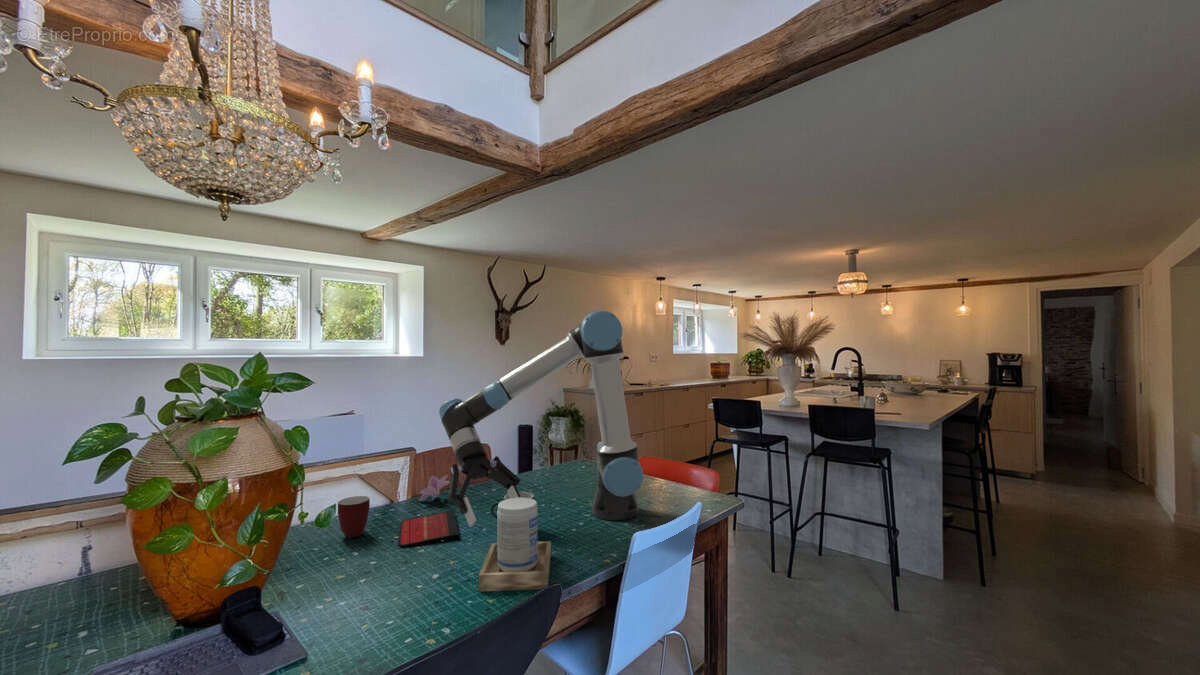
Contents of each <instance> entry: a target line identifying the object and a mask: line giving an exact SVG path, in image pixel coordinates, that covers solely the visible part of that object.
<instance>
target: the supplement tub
mask: <svg viewBox="0 0 1200 675" xmlns="http://www.w3.org/2000/svg"><path fill="white" fill-rule="evenodd" d="M498 503H499V504H498V505H497V512H496V513H497V514H496V516H497V518H496V519H497V522H496V523H497V525H496V526H497V530H496V531H497V539H496V540H497V542H496V543H498V567H499V568H500V569H501V570H502V571H504V572H526V571H529V570H531V569H532V568H534V567H535V566H536V564H537V562H538V542H539V541H538V540H539V536H538V535H539V534H538V532H539V531H538V530H539V529H538V528H539V527H538V525H539V522H538V521H539V519H538V518H539V516H538V515H539V514H538V513H539V511H538V510H539V509H538V503H537V500H535V499H531V498H511V499H506V500H504V499H503V500H502V501H499V502H498Z"/></svg>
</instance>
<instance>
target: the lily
mask: <svg viewBox="0 0 1200 675" xmlns="http://www.w3.org/2000/svg"><path fill="white" fill-rule="evenodd" d="M448 476H449V474H446V475H444V476H442V477H441V478H440V479H439V478H438V477H437V476H435V475H432V476H431V477H430V478H429V481H428V484H427V487H425V488H423V489H422V490H421V491H420V492H419V494H422V495H421V496H420V498H419V500H418V502H419V501H421V502H423V500H425V499H426V498H428V497H429V496H432V497H433V498H435V497H436V498H437V497H438V496H439V498H440V501H441V503H442V504H444V501H443V499H442V496H441V494H440V491H441V489H442V488H443V487H445V486H447V485H448V484H449V485H450V483H451V481H449V480H446V479H447V478H448Z"/></svg>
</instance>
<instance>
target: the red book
mask: <svg viewBox="0 0 1200 675" xmlns="http://www.w3.org/2000/svg"><path fill="white" fill-rule="evenodd" d="M451 537H453V538H455V537H457V538H456V539H457V540H458V541H460V533H459V527H458V523H457V518H456V513H455V510H454V509H452V510H448V511H447V510H446V511H443V512H439V513H434V514H429V515H423V516H418V517H417V516H416V517H414V518H407V519H403V520H401V522H400V524H399V532H398V537H397V539H398V540H397V541H398V542H397V547H398V546H399V547H401V549H402V548H412V547H418V546H426V544H427V545H434V544H441V543H440V542H442V541H441V540H445V539H447V540H449V539H448V538H450V539H452V538H451ZM445 541H446V540H445ZM442 543H443V542H442ZM399 547H398V548H399Z"/></svg>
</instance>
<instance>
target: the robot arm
mask: <svg viewBox="0 0 1200 675" xmlns="http://www.w3.org/2000/svg"><path fill="white" fill-rule="evenodd" d="M622 336H623V325H622V323H621V321H620V319H619V317H617V315H616V314H614V313H613V312H610V311H607V310H603V309H602V310H595V311H591V312H589V313H588V314H587V315H586V316H584V318H583V320H582V321H581V323H579V324H578V325H577V326H576V327H574V328H573V329H571V330H570V331H569V332H567V336H566V337H564V338H563V339H561V340H560V341H558V342H557V343H555V344H554V345H552V346H550V347H549V348H547V349H545V350H544V351H542V352H541V353H539V354H538V355H536V356H534V357H533V358H531V359H530V360H529V361H526V362H525V363H523V364H522V365H520V366H519V367H517V368H515V369H514V370H512V371H511V372H509V373H507V374H506V375H504V376H502V377H501V378H500V379H497V380H496V381H495V382H492V383H490V384H488V385H486V386H485V387H484V388H482V389H480V390H479V391H477V392H476V393H474V394H473V395H471V396H469V397H468V398H466V399H465V400H462V399H461V398H452V399H451V400H446V401H445V402H443V403H442V404H441V405H440V407H439V409H438V414H439V417H440V419H441V424H442V425H443V428H444V429H445V430H444V431H445V433H446V436H447V437H448V440H449V442H450V445H451V447H452V450H453V452H454V454H455V457H456V459H457V463H458V464H459V465H458V464H457V463H454V464H453V465H452V466H451V468H450V470H449V473H450V477H451V478H450V483H449V490H448V497H447V502H448V503H449V504H452V503H454V505H456V506H458V509H459V513H461V515H464V516H465V519H466V521H467V524H468V527H469V528H471V527H473V526H474V525H475V523H476V522H477V519H476V518H477V517H475V513H474V511H473V508H472V506H471V503H470V500H469V498H468V497H467V496H465V494H466V491H467V489H468V486H469V485H470V483H471V480H472V479H473V481H475V480H478V479H484V478H487V479H491V480H492V481H494V482H495V483H497V484H499V485H500V486H502V487H504V488H505V489H507V490H506V493H507V494H508V495H509V498H510V499H511V498H519V497H520V494H519V492H520V491H519V490H518V488H517V486H518V485H519V484H520V482H521V479H520V478H519V477H518V476H517V475H516V474H515V472H513V471H512V470H510V469H509V467H507V466H506V465H505V464H504V463H503V462H502V461H501V460H500V458H499V456H494V458H492V459H489V458H488V457H487V452H486V450H485V448H484V446H483V443H482V442H481V438H480V436H479V434H478V432H477V430H476V428H475V425H476V424H478V423H479V422H481V421H483V420H484V419H486V418H487V417H489V416H491V415H493V414H494V413H496V412H497V411H498V410H501V409H503V407H504V406H506V405H508V404H509V402H510V401H511V400H513V399H514V398H517V396H519V395H520V394H523V393H524V392H525V391H527V390H529V389H531V388H532V387H534V386H535V385H537V384H538V383H540V382H542V381H544V380H545V379H546V378H548V377H549V376H552V375H554V373H557V372H558V371H560V370H561V369H562V368H564V367H565V366H567V365H569V364H570V363H572V362H573V361H575V360H577V359H578V358H584V360H585V361H587V362H588V363H589V364H590V367H591V375H592V382H593V388H594V396H595V403H596V404H595V405H596V411H597V416H598V417H597V418H598V424H599V430H600V438H601V441H599V442H598V443H597V445H596V446H597V447H596V454H597V457H596V458H597V462H596V463H597V464H596V465H597V470H596V471H597V472H596V473H597V476H596V477H597V478H596V480H597V481H596V482H597V485H596V486H597V488H596V492H595V494H594V499H593V502H592V505H591V511H592V515H593V516H595V517H596V518H597V519H601V520H606V521H608V520H609V521H625V520H630V519H633V518H635V517H637V516H638V515H639V513H640V512H639V511H640V510H639V508H640V507H639V503H638V499H637V496H636V492H637V491H638V490H639V489H640V488H641V486H642V484H643V481H644V470H643V467H642V465H641V464H640V459H639V452H638V445H637V443H636V442H635V441H633V439H632V438H631V432H630V425H629V419H628V413H627V404H626V398H625V392H624V384H623V378H622V369H621V363H620V359H621V357H622V356H623V355H624V349H623V348H624V346H623V342H622ZM461 472H462V473H463V474H464V475H465V477H464V479H463V481H462V485H461V487H460V490H459V492H458V494H457V491H458V490H457V489H458V485H459V484H458V482H459V475H460V473H461ZM464 496H465V497H464Z"/></svg>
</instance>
